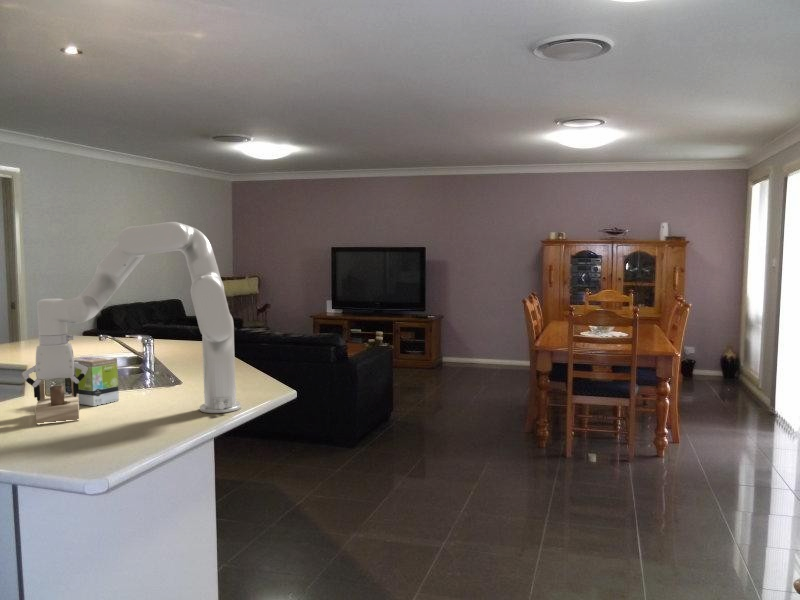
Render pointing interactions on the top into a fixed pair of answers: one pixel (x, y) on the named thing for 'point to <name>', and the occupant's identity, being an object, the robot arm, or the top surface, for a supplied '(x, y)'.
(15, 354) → the top surface
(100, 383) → the tea box
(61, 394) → the peg
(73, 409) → the socket block
